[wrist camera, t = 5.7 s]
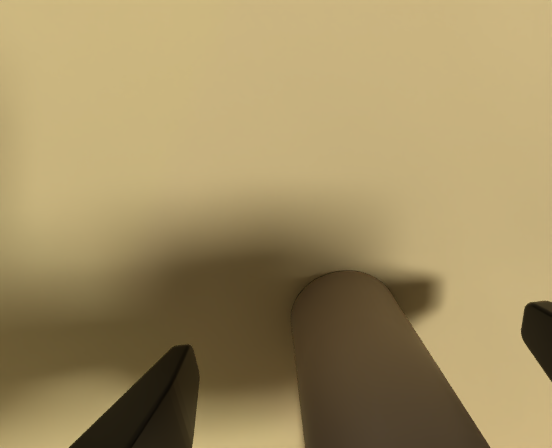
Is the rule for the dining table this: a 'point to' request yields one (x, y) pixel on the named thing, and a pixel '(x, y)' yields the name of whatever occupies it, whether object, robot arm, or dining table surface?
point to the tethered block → (370, 372)
